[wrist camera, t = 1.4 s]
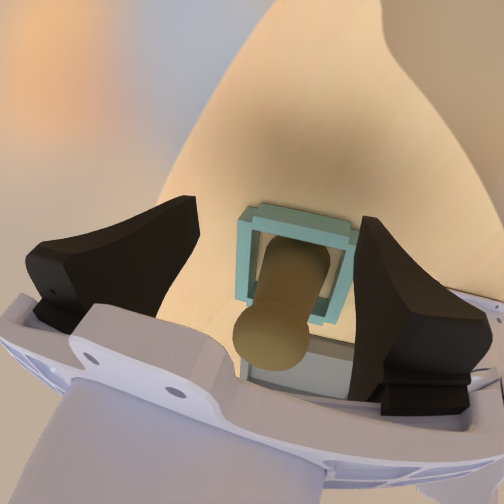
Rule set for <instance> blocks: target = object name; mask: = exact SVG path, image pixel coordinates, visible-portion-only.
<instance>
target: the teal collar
mask: <svg viewBox="0 0 504 504" xmlns="http://www.w3.org/2000/svg"><path fill="white" fill-rule="evenodd" d="M259 231H262V232H266V233H271V234H275V235H280V236H284V237H289V238H293V239H298V240H302V241H306V242H311V243H315V244H319V245H324V246H328V247H332V248H337V249H341V250H343V251H342V255H341V258H340V262H339V265H338V269H337V272H336V275H335V279H334V282H333V285H332V288H331V291H330V295H329V298H328V299H324V298H320V297H318V298H317V300H316V302H315V305H314V307H313V310H312V312H311V314H310V317H309V319H308V321H307V322H308V323H312V324H316V325H321V326H322V324H323V322H327V323H331V324H335V325H336V322H337V320H338V317H339V315H340V312H341V309H342V307H343V304H344V302H345V299H346V296H347V293H348V291H349V288H350V285H351V282H352V280H353V264H354V253H355V249H356V245H357V240H358V236H359V231H358V230H353V229H350V222H348V221H344V220H340V219H335V218H331V217H327V216H322V215H318V214H313V213H309V212H304V211H299V210H295V209H290V208H285V207H280V206H275V205H270V204H265V203H261V205H260V206H259V208H253V207H247V208H246V209H245V211H244V212H243V213H242V215H241V216H240V217H239V219H238V224H237V251H236V281H235V299H237V300H240V301H244V302H247V306H246V307H249V306H251V305H252V302H253V299H254V295H255V291H256V287H257V283H258V282H255V276H256V264H257V253H258V241H259Z"/></svg>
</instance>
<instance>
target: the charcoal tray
mask: <svg viewBox="0 0 504 504" xmlns="http://www.w3.org/2000/svg"><path fill="white" fill-rule="evenodd" d="M309 337H310V343H309V348H308V350H307V352H306V354H305V356H304V358H303V359H302V361H300V362H299V363H298V364H297V365H295V366H294V367H293V368H291V369H288V370H285V371H268V370H263V369H260V368H257V367H255V366H253V365H251V364H249V363H248V362H246V361H245V360H244V359H243V358H241V367H240V378H241V379H243V380H246V381H249V382H251V383H254V384H257V385H259V386H262V387H265V388H268V389H271V390H276V391H281V392H287V393H293V394H299V395H306V396H313V397H320V398H328V399H337V400H347V398H348V392H349V386H350V380H351V373H352V366H353V358H354V348H355V344H351V343H346V342H342V341H337V340H333V339H328V338H324V337H320V336H315V335H311V334H309Z"/></svg>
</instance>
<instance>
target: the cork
mask: <svg viewBox="0 0 504 504" xmlns="http://www.w3.org/2000/svg"><path fill="white" fill-rule="evenodd" d="M329 267H330V256H329V254H328V251H327V249H326V247H325V246H324V245H319V244H315V243H311V242H306V241H302V240H298V239H293V238H289V237H284V236H280V235H277V236H276V237H274V238H273V239H272V240H271V241H270V243H269V244H268V246H267V247H266V251H265V255H264V259H263V263H262V267H261V271H260V275H259V279H258V283H257V287H256V291H255V295H254V299H253V302H252V305H251V306H249V307H248V308H246V309H245V310H244V311H243V312H242V313H241V315H240V316H239V318H238V319H237V321H236V323H235V325H234V330H233V343H234V347H235V349H236V352H237V353H238V354H239V355H240V357H241V358H243V359H244V360H245V361H246V362H248V363H249V364H251V365H253V366H255V367H257V368H260V369H263V370H268V371H285V370H288V369H291V368H293V367H294V366H295V365H297V364H298V363H299V362H300V361H302V359H303V358H304V356H305V354H306V352H307V350H308V348H309V343H310V337H309V326H308V325H307V321H308V319H309V317H310V314H311V312H312V310H313V307H314V305H315V302H316V300H317V298H318V295H319V293H320V290H321V288H322V285H323V283H324V280H325V278H326V275H327V273H328V270H329Z"/></svg>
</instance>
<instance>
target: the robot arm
mask: <svg viewBox="0 0 504 504" xmlns="http://www.w3.org/2000/svg"><path fill="white" fill-rule="evenodd" d="M199 237H200V229H199V221H198V213H197V205H196V197H195V196H186V195H183V196H179V197H176V198H174V199H171V200H169V201H167V202H165V203H162V204H160V205H158V206H156V207H154V208H152V209H150V210H148V211H145V212H143V213H141V214H139V215H136V216H134V217H132V218H130V219H128V220H125V221H123V222H120V223H118V224H115V225H112V226H110V227H107V228H104V229H100V230H97V231H93V232H90V233H87V234H83V235H79V236H74V237H69V238H64V239H58V240H51V241H44V242H41V243H40V244H38V245H37V246H36V247H35V248H34V249H33V250H32V251H31V252H30V253H29V254H28V255H27V256H26V260H25V263H26V268H27V271H28V273H29V276H30V278H31V279H32V281H33V283H34V285H35V287H36V289H37V290H38V292H39V293H40V295H41V297H42V299H41V300H40V302H39V303H38V302H37V301H36V300H35V299H33V298H32V297H30V296H28V295H26V294H24V293H20V295H19V296H18V297H17V298H16V299H15V300H14V302H13V303H12V304H11V305H10V306H9V307H8V309H7V310H6V311H5V312H4V313H3V315H2V316H1V317H0V343H1V344H2V345H3V346H4V347H5V349H6V350H7V351H8V352H9V353H10V354H11V355H12V356H13V358H14V359H15V360H16V361H17V362H18V363H19V364H20V365H21V366H22V367H23V368H25V369H26V370H27V371H28V372H30V373H31V374H32V375H34V376H35V377H36V378H38V379H39V380H40V381H41V382H43V383H44V384H45V385H47V386H48V387H49V388H51V389H52V390H53V391H55V392H56V393H58V394H59V395H60V396H62V397H63V398H62V400H61V401H60V403H59V405H58V407H57V408H56V410H55V412H54V413H53V415H52V417H51V419H50V421H49V423H48V424H47V426H46V428H45V430H44V431H43V433H42V435H41V437H40V439H39V441H38V443H37V444H36V446H35V448H34V450H33V452H32V454H31V456H30V458H29V460H28V462H27V464H26V466H25V468H24V471H23V473H22V475H21V477H20V479H19V481H18V483H17V485H16V488H15V490H14V492H13V494H12V497H11V499H10V501H9V504H319V501H320V497H321V492H322V489H372V488H373V489H374V488H388V487H398V486H408V485H416V490H417V491H418V492H420V493H421V494H423V495H425V496H426V497H428V498H430V499H432V500H434V501H436V502H438V503H440V504H497V500H498V487H499V486H500V485H501V484H502V482H503V481H504V315H503V312H504V303H503V302H499V301H495V300H491V299H487V298H483V297H479V296H475V295H471V294H467V293H463V292H459V291H455V290H451V289H447V288H445V287H444V286H443V285H441V284H440V283H439V282H438V281H436V280H435V279H434V278H433V277H431V276H430V275H429V274H428V273H427V272H426V271H425V270H423V269H422V268H421V267H420V266H419V265H418V264H417V263H416V262H415V261H414V260H413V259H412V258H411V257H410V256H409V255H408V254H407V253H406V251H405V250H404V249H403V248H402V247H401V246H400V245H399V244H398V242H397V241H396V240H395V239H394V238H393V236H392V235H391V234H390V233H389V231H388V230H387V229H386V228H385V227H384V225H383V224H382V223H381V222H380V221H379V219H378V218H375V217H369V216H363V217H362V222H361V226H360V231H359V236H358V240H357V245H356V249H355V253H354V264H353V282H354V295H355V309H356V336H355V348H354V358H353V366H352V373H351V380H350V386H349V392H348V398H347V400H337V399H328V398H320V397H313V396H306V395H299V394H293V393H287V392H281V391H276V390H271V389H268V388H265V387H262V386H259V385H257V384H254V383H251V382H249V381H246V380H243V379H241V378H238V377H236V376H235V370H234V363H233V361H232V359H231V358H230V356H229V354H228V352H227V351H226V349H225V348H224V346H222V345H221V344H220V343H218V342H217V341H216V340H214V339H213V338H212V337H210V336H209V335H207V334H205V333H202V332H200V331H197V330H195V329H192V328H190V327H187V326H183V325H179V324H175V323H172V322H168V321H164V320H160V319H157V318H155V317H156V315H157V312H158V310H159V308H160V306H161V304H162V301H163V299H164V297H165V295H166V293H167V291H168V290H169V288H170V286H171V285H172V283H173V282H174V280H175V278H176V277H177V275H178V274H179V272H180V271H181V269H182V268H183V266H184V265H185V263H186V261H187V260H188V258H189V257H190V255H191V254H192V252H193V250H194V248H195V246H196V244H197V241H198V239H199Z"/></svg>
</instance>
